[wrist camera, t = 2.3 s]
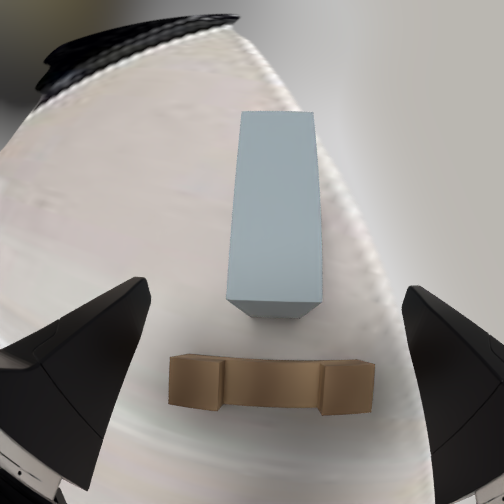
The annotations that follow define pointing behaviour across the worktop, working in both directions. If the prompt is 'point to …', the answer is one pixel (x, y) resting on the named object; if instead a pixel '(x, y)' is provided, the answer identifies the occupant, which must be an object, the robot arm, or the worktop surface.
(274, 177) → the grey slotted plate
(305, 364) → the tan stepped bar
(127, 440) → the worktop surface
